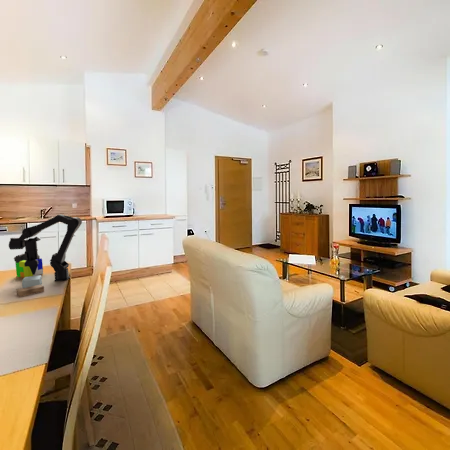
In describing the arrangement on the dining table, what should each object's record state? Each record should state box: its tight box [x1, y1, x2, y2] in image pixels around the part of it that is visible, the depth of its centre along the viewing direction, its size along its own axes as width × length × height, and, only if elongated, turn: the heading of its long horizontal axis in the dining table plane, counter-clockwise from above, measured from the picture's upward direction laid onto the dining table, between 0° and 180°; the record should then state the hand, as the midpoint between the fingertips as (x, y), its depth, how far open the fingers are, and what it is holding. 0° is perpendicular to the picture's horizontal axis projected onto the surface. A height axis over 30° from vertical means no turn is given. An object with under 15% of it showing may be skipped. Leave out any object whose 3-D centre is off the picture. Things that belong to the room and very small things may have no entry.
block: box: [21, 274, 43, 289], centre depth 158 cm, size 8×9×5 cm
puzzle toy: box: [14, 258, 44, 278], centre depth 180 cm, size 10×10×10 cm
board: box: [16, 284, 45, 298], centre depth 148 cm, size 11×5×3 cm, turn 138°
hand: (33, 274), depth 167 cm, fingers closed
